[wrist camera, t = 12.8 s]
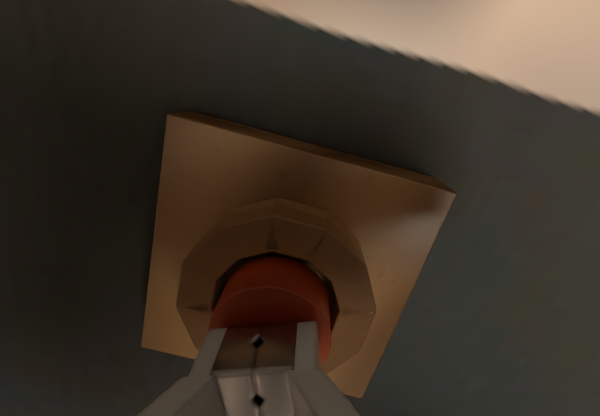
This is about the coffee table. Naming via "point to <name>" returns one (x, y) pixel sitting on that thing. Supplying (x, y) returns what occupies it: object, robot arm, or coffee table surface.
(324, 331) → the button
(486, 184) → the coffee table surface
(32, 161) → the coffee table surface
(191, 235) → the button block
